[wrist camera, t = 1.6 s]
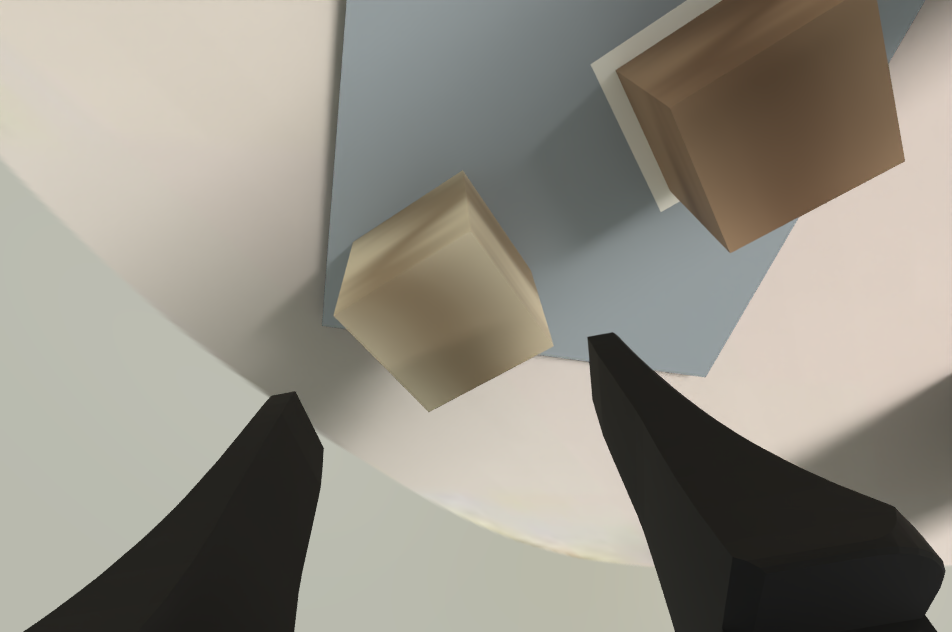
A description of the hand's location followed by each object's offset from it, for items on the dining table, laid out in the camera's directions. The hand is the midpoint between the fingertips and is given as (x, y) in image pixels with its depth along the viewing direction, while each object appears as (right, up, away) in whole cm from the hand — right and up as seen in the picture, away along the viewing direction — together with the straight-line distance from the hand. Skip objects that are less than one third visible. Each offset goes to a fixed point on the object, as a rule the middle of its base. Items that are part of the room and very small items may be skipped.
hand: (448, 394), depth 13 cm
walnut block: (+8, +9, +3) cm, 12 cm away
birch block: (0, +4, +6) cm, 7 cm away
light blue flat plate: (+4, +7, +5) cm, 9 cm away
